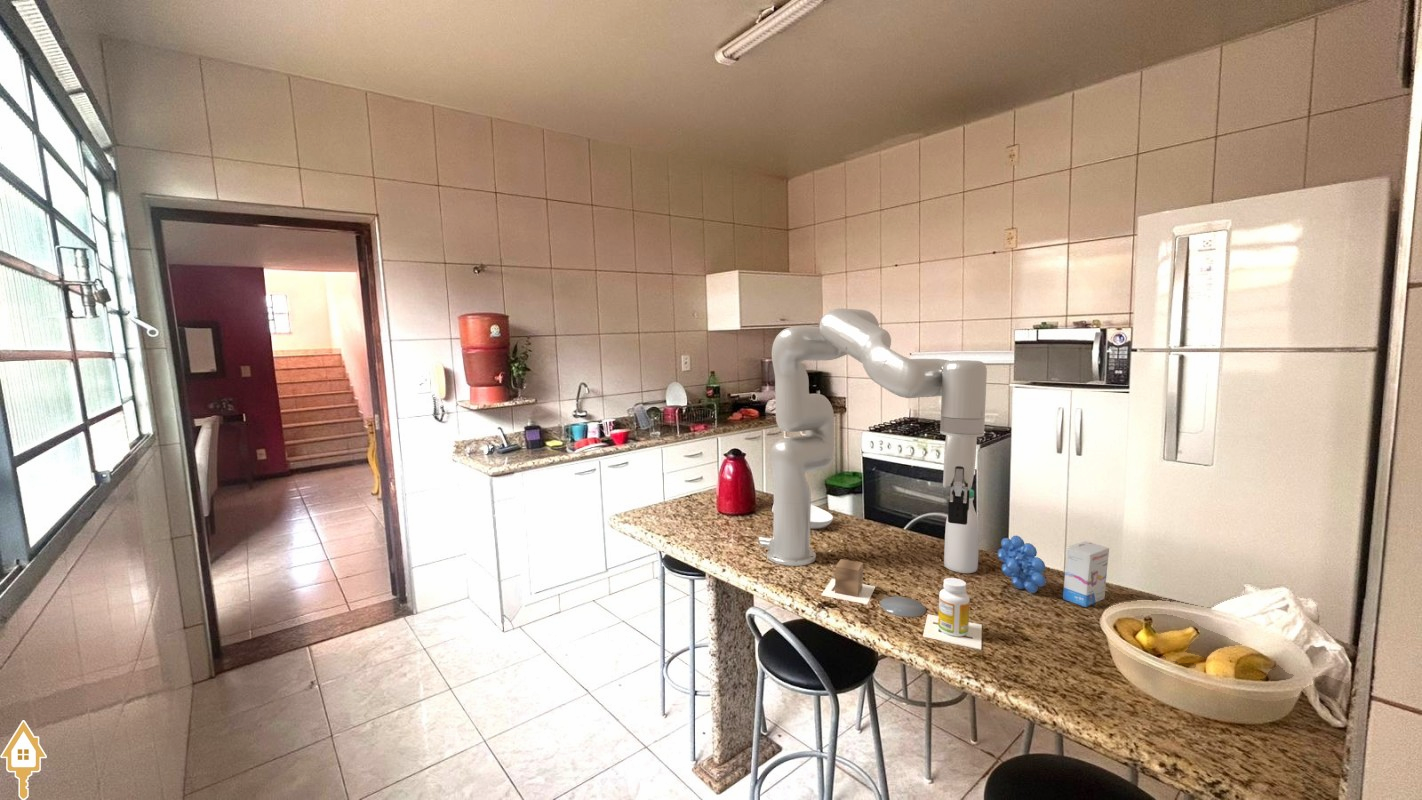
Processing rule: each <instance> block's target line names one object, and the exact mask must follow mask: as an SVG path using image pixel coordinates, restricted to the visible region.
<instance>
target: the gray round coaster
mask: <svg viewBox="0 0 1422 800" xmlns="http://www.w3.org/2000/svg"><path fill="white" fill-rule="evenodd" d="M880 607H881V608H882V609H883V610H884V611H885V612H887V613H889V614H891V615H894V616H897V617H900V618H901V617H902V618H918V617H922V616H923V615H925V613H926V611H927V610H926V606H925V605H924V604H923V602H920V601H919V600H916V599H913V598H911V597H910V598H909V597H906V596H901V595H900V596H896V595H895V596H894V595H893V596H887V597H884V598H882V599H881V600H880Z"/></svg>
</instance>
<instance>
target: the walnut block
mask: <svg viewBox="0 0 1422 800" xmlns="http://www.w3.org/2000/svg"><path fill="white" fill-rule="evenodd" d="M863 573H864V563H863V562H862V561H861V562H860V561H856V560H849V559H842V558H840V560H839V561H838V562H837V564H836V566H835V574H834V575H835V578H834V579H835V593H839V594H844V595H849V596H854V597H858V596H859V594H860V592H861V590H862V584H863V575H864V574H863Z"/></svg>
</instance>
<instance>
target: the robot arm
mask: <svg viewBox="0 0 1422 800" xmlns="http://www.w3.org/2000/svg"><path fill="white" fill-rule="evenodd" d="M891 345H892V337H891V335H890V333H889V332H888V330H886V329H884V328H882V327H881V326H880V324H879V321H878V319H877V317H876V315H874V314H873V313H872V312H870V311H868V310H865V309H857V308H834V309H832V310H829V311H827V312H826V313H825V314H824V315H823V316H822V317H821V319H820V322H819V326H818V325H817V326H815V325H795V326H790V327H787V328H784V329H782V330H781V331H780V332H779V333H778V334H777V335H776V336H775V339H774V340H773V343H772V346H771V361H772V367H773V372H774V373H773V374H774V395H775V396H774V397H775V398H774V399H775V401H774V402H775V406H774V407H775V420H776V424H777V427H778V428H779V429H780V431H782V432H786V433H796V432H797V433H798V432H804V431H805V435H800V436H789V437H785V438H782V439H779V440H777V441H776V442H775V443H774V444H773V445H772V447H771V449H770V451H769V453H770V454H769V458H770V459H769V460H770V461H769V462H770V466H771V471H772V480H773V481H772V483H773V504H774V513H773V524H772V526H773V527H772V528H773V529H772V530H773V531H772V533H773V534H772V536H771V537H767V536H761V535H760V536H759V537H758V544H759V546H760V547H763V548H765V547H766V548H767V552H766V556H767V558H768V559H769V560H770V561H771V562H773V563H775V564H778V565H782V566H786V567H787V566H788V567H800V566H807V565H810V564H812V563H814V562H815V561H816V559H817V555H816V552H815V551H814V550H812V548H811V529H810V514H811V504H812V499H811V498H812V495H811V494H812V493H811V488H810V484H809V482H808V481H807V478H806V476H805V475H806V474H807V473H812V472H819V471H823V470H825V469H827V468H829V467H830V465H831V464H832V462H833V459H834V456H835V413H834V409H833V406H832V404H831V402H830V401H829V399H828V398H827V397H826V396H825V395H823V394H821V393H810V390H809V389H810V388H809V387H810V383H809V382H810V381H809V375H808V372H807V370H806V368H805V366H804V365H803V364H802V362H804V361H811V362H812V361H833V360H837V359H840V358H843V357H844V356H847V355H849V356H850V357H852V359H855V360H856V361H858V362H859V363H861V364H862V366H863V369H864V371H865V373H866V375H867V376H868V378H870V380H872V381H873V382H874V383H876V384H877V385H879V386H880V387H881V388H884V389H885V390H886V391H889V393H892V394H894V395H896V396H898V397H900V398H905V399H917V398H933V397H941V398H940V399H941V402H940V403H941V404H940V405H941V406H940V425H939V427H940V428H939V429H940V434H941V435H944V436H945V442H944V452H943V453H944V456H943V476H942V477H943V478H942V479H943V480H942V487H943V488H944V489H948V488H947V487H950V492H949V493H950V495H949V500H948V508H947V510H948V513H947V516H948V522H949V523H955V524H963V525H966V524H967V516H968V510H969V491H970V489H972V487H973V482H974V475H975V469H976V458H977V442H978V441H977V439H978V438H982V437H984V436H985V424H986V423H985V421H986V420H985V419H986V400H987V398H986V397H987V375H988V374H987V373H988V371H987V370H988V369H987V368H988V367H987V366H986V364H985V363H984V362H983V361H980V360H969V359H968V360H965V359H964V360H962V359H961V360H959V359H958V360H948V359H943V358H908V357H906V356H903V355H902V354H900V353H898V352H897V351H894V350H892V349H891Z"/></svg>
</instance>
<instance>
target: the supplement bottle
mask: <svg viewBox="0 0 1422 800" xmlns="http://www.w3.org/2000/svg"><path fill="white" fill-rule="evenodd" d="M942 587H943V589H941V590H940V591H939V596H938V615H937V616H938V628H939V629H940V630H941V631H942V632H943V633H945V634H947V635H951V636H964V635H966V634H967V633H968V626H969V622H970V621H969V620H970V601H971V600H970V596H969V594H968V593H967V592H966V591H967V582H966V581H965V580H963V579H959V578H956V577H946V578H944V580H943V586H942Z"/></svg>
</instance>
